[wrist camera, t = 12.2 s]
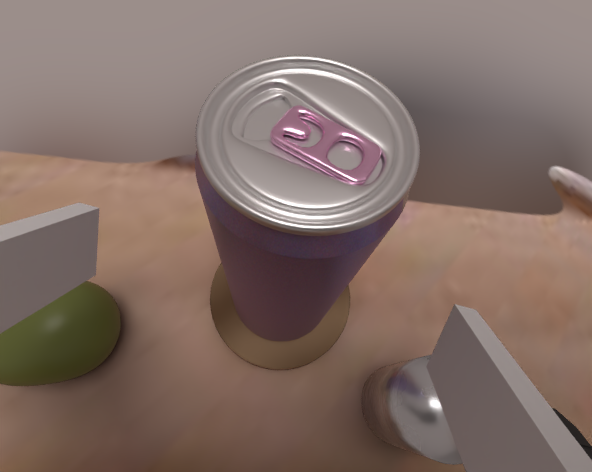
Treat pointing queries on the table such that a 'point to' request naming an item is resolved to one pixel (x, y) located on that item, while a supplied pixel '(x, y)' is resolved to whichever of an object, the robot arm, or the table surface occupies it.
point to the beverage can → (300, 183)
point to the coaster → (269, 351)
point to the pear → (61, 338)
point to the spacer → (409, 411)
